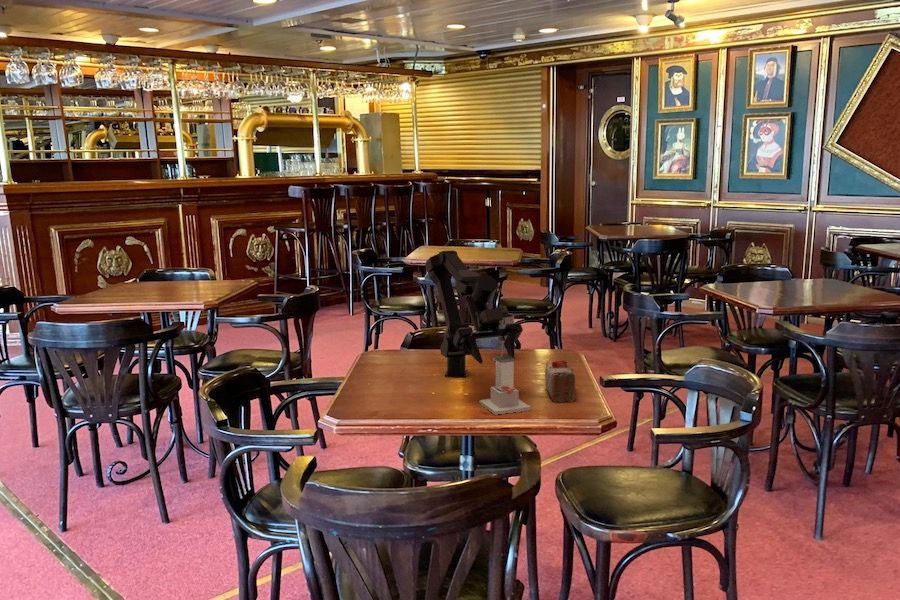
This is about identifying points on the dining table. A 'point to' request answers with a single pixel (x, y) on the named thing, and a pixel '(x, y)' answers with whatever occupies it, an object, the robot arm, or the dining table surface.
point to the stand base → (504, 402)
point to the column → (504, 372)
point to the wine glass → (502, 325)
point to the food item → (560, 381)
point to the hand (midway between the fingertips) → (497, 361)
